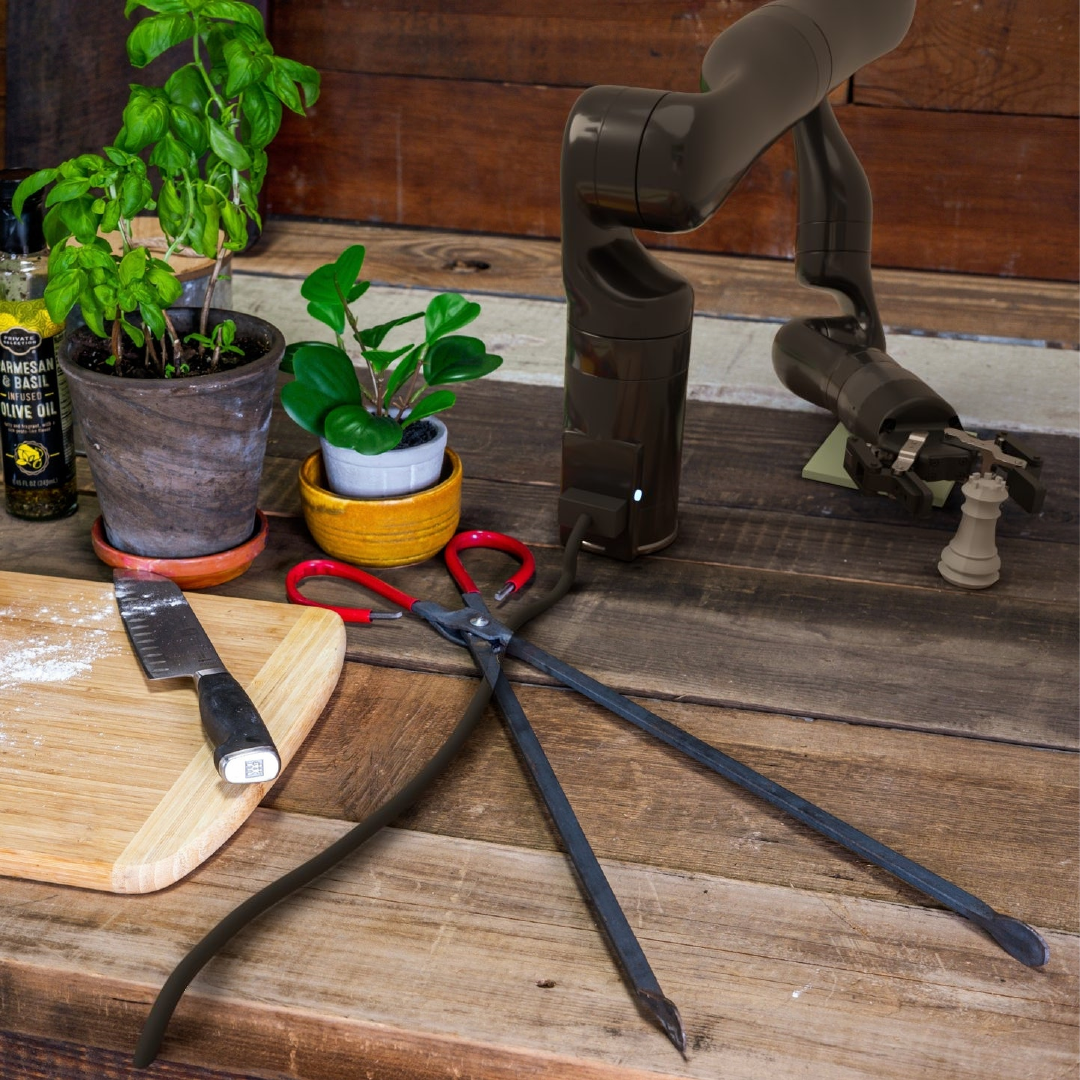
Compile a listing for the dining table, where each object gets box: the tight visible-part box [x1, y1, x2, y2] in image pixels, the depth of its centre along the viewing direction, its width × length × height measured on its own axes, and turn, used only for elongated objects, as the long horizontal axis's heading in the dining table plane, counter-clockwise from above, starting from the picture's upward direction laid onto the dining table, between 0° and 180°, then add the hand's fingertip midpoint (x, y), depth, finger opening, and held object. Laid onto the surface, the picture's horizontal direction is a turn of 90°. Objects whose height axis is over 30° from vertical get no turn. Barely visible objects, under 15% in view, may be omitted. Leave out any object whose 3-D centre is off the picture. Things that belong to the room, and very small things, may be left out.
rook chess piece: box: [937, 472, 1009, 590], centre depth 92 cm, size 4×4×8 cm
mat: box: [801, 421, 978, 508], centre depth 113 cm, size 16×12×1 cm
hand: (983, 504), depth 91 cm, fingers open, 8 cm apart
